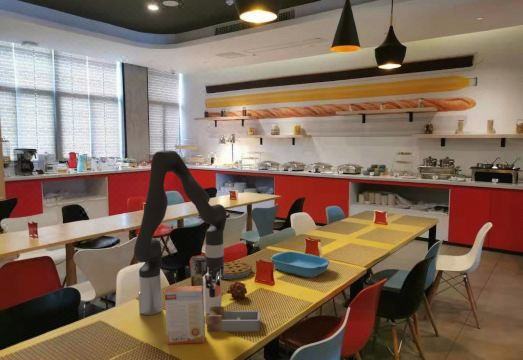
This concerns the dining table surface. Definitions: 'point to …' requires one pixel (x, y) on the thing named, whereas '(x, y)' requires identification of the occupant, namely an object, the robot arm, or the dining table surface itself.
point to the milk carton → (210, 298)
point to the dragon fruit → (237, 290)
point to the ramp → (215, 319)
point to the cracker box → (185, 315)
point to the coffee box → (198, 270)
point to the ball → (217, 290)
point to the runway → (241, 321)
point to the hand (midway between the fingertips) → (214, 294)
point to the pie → (236, 269)
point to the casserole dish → (300, 263)
